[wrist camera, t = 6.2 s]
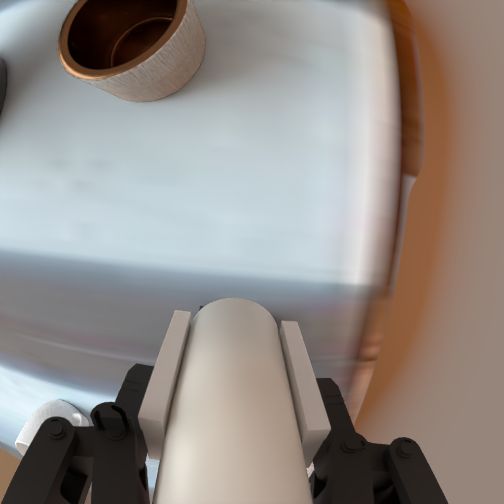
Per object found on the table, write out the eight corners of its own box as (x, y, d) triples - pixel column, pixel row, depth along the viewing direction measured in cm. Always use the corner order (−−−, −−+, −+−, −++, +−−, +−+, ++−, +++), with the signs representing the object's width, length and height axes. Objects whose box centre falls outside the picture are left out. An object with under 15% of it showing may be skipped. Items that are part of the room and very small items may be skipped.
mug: (73, 379, 34) (38, 439, 22) (120, 424, 37) (99, 484, 25) (35, 395, 36) (6, 441, 24) (75, 433, 39) (54, 480, 27)
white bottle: (191, 293, 13) (120, 579, 2) (285, 302, 13) (359, 578, 2) (189, 364, 14) (155, 584, 3) (270, 371, 15) (301, 588, 3)
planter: (228, 37, 22) (223, -13, 13) (161, 122, 24) (122, 106, 15) (148, 1, 19) (118, -44, 10) (86, 79, 22) (34, 57, 13)
